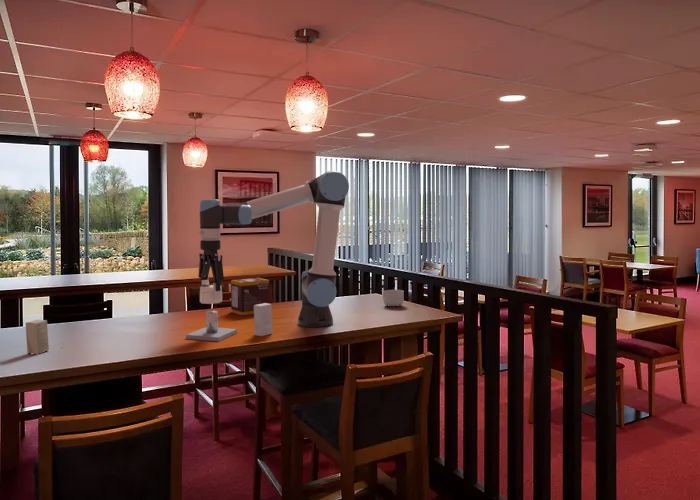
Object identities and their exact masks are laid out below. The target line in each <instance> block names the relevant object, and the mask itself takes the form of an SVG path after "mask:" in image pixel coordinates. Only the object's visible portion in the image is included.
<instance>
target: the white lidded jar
mask: <svg viewBox="0 0 700 500" xmlns="http://www.w3.org/2000/svg"><path fill="white" fill-rule="evenodd" d="M222 302H223V290H222V287H221V299H218V300H213V284H209V285H202V284H201V285H200V288H199V303H201V304H202V305H203V304H206V305H211V304H220V303H222Z"/></svg>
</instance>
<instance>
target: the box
mask: <svg viewBox="0 0 700 500" xmlns="http://www.w3.org/2000/svg"><path fill="white" fill-rule="evenodd" d="M48 332H49V331H48V320H47V319H45V320H44V319H34V320H32V321H31V320H30V321H27V322H25V334H26V335H25V336H26V350H27V354H28V353H33V354H38V353H42V352H45V351H47V352H49V351H50V347H49V346H50V345H49V333H48ZM48 350H49V351H48ZM45 353H46V352H45ZM42 354H43V353H42Z"/></svg>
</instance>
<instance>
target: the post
mask: <svg viewBox="0 0 700 500" xmlns="http://www.w3.org/2000/svg"><path fill="white" fill-rule="evenodd" d="M218 314H219V313H218V310H207V311H205V327H206V333H217V332H218V328H219V322H218V320H219V315H218Z"/></svg>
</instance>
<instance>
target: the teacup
mask: <svg viewBox="0 0 700 500" xmlns="http://www.w3.org/2000/svg"><path fill="white" fill-rule="evenodd" d="M404 292H405V291H404V290H402V289H387V290H383V291H382V299H383V304H384V305H385V306H386V305H389V306H398V305H401V306H402V305H403V304H404V301H405V300H404V299H405V298H404V297H405V294H404Z"/></svg>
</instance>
